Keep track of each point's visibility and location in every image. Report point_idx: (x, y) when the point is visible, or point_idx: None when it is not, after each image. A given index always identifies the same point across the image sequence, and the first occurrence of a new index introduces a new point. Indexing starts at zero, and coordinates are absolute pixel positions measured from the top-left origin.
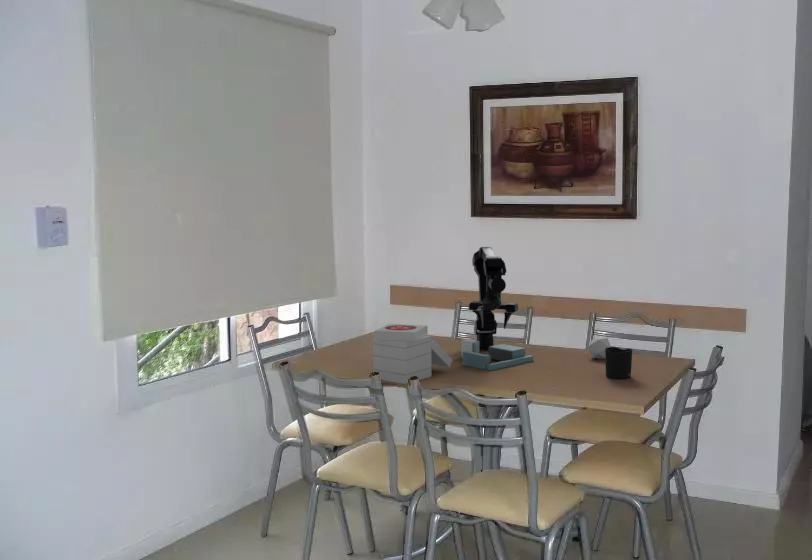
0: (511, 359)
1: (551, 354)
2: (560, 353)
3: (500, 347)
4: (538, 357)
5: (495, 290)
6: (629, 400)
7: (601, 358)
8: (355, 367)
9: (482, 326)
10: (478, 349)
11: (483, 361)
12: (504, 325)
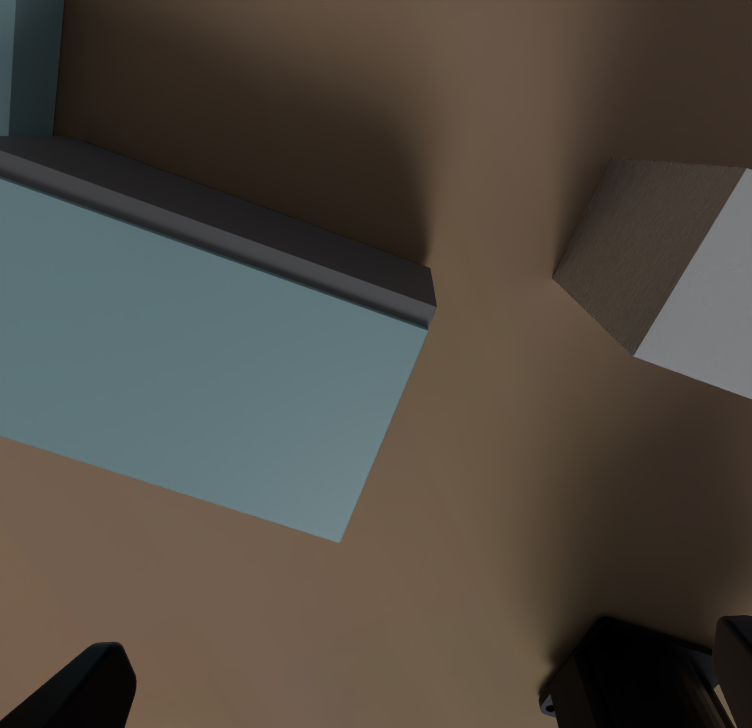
0: (6, 83)
1: (40, 650)
2: (10, 694)
3: (249, 330)
4: (51, 529)
5: None
6: None
7: None
8: None
9: (731, 649)
10: (593, 294)
11: None
12: (31, 716)
